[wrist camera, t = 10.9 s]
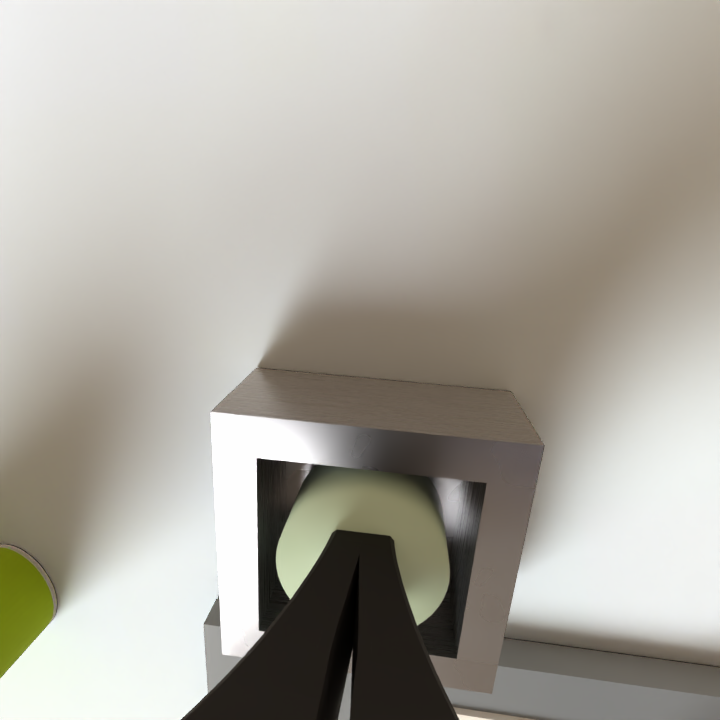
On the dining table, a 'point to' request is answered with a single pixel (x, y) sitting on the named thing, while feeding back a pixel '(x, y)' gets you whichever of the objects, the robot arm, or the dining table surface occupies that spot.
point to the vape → (22, 603)
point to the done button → (370, 528)
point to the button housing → (387, 454)
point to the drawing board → (554, 684)
